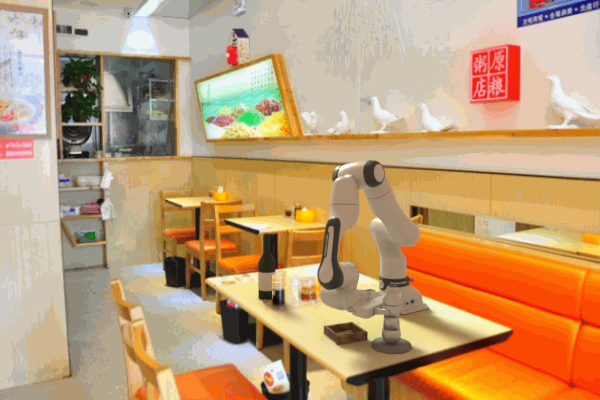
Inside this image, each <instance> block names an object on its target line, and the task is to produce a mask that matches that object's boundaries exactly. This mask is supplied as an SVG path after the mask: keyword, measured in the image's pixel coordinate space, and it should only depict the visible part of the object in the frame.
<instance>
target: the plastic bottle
mask: <svg viewBox="0 0 600 400" xmlns="http://www.w3.org/2000/svg"><path fill="white" fill-rule="evenodd" d="M397 292H398V286H396V285H388V286H387V294H386V295H385V296H384V297H383V300H382V303H383V309H389V310H390V314H389V315H383V324H382V328H381V329H382V330H381V337H382V338H383V340H384V341H385V342H389V343H396V342H399V340H400V338H402V332H401V325H400V318H401V317H400V315H401V314H400V308H401V299H400V297H399V295H398V294H397Z"/></svg>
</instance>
